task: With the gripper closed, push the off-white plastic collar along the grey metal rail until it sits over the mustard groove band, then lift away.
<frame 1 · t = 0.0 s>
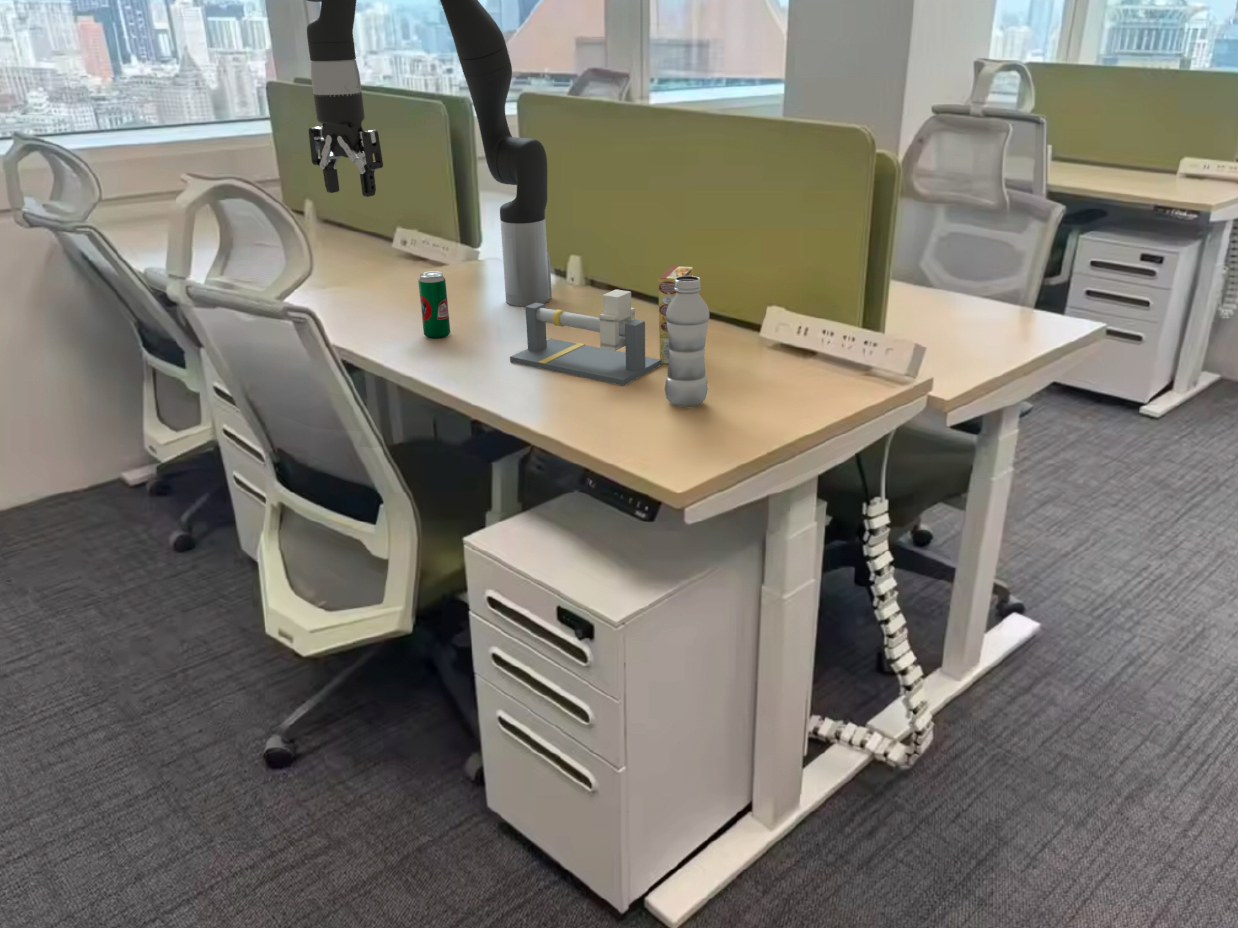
hand: (350, 194, 167), 29 cm above the table, tool pointing down, fingers open, 8 cm apart
collar: (617, 319, 168), point 9 cm above the table, slide at 0.0 cm
rail stand: (585, 363, 176), on the table
soda can: (437, 336, 192), on the table
candy box: (676, 358, 178), on the table
plastic bottle: (686, 405, 157), on the table
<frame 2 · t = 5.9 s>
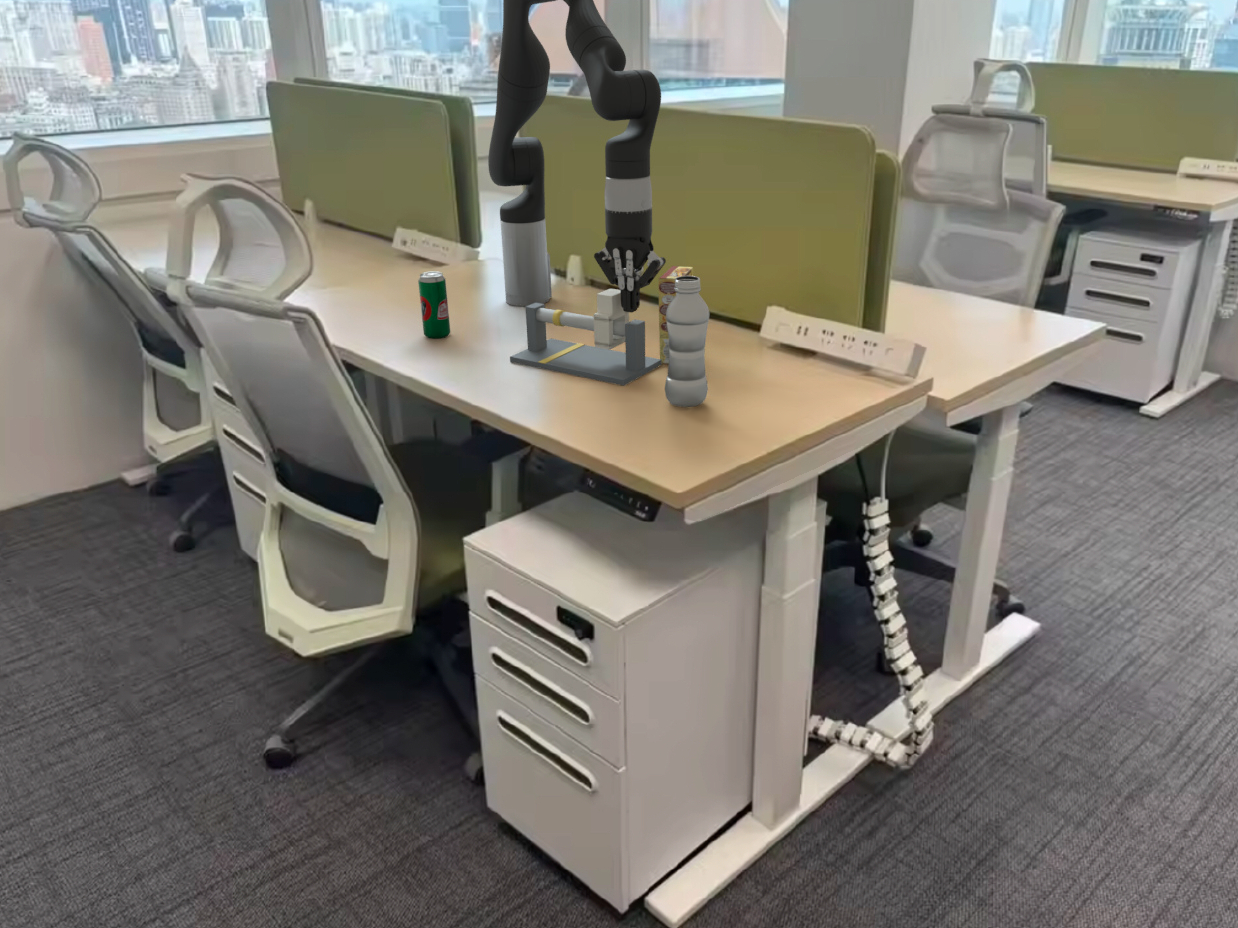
hand: (630, 310, 166), 11 cm above the table, tool pointing down, fingers closed
collar: (611, 318, 169), point 9 cm above the table, slide at 1.2 cm, touching gripper
everything else where it was.
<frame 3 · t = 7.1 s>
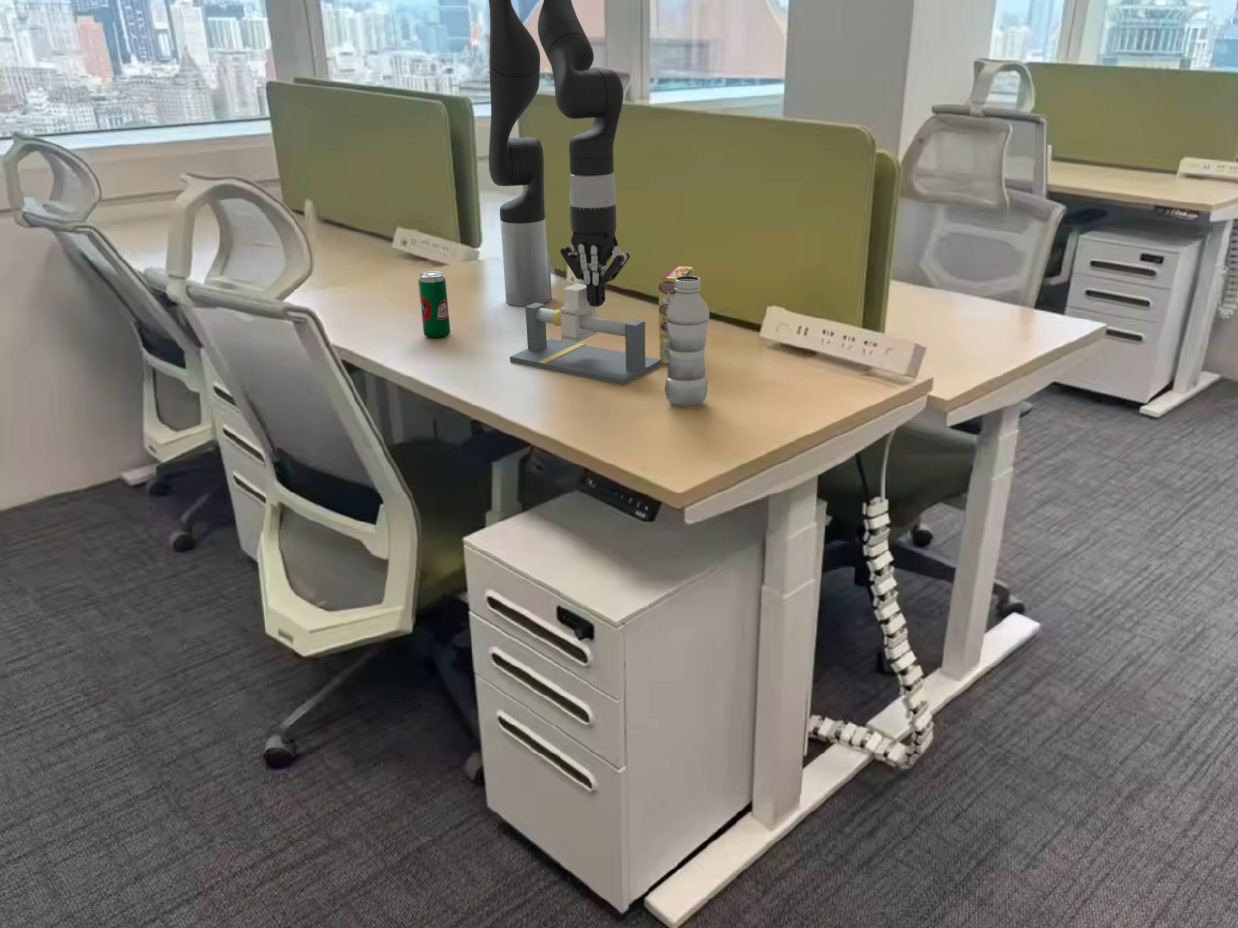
hand: (596, 305, 170), 11 cm above the table, tool pointing down, fingers closed
collar: (578, 312, 172), point 9 cm above the table, slide at 8.1 cm, touching gripper
everything else where it was.
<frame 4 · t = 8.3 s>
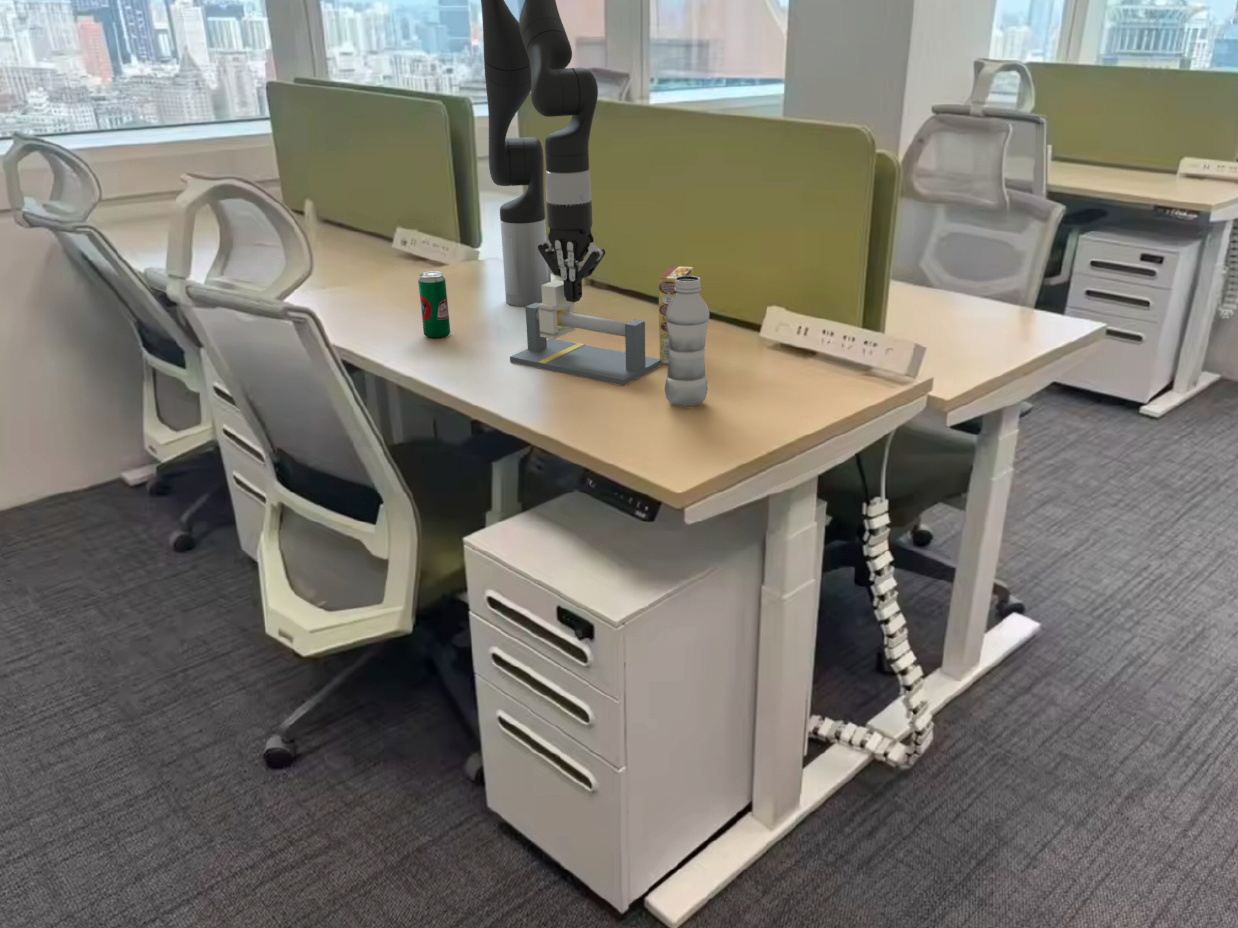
hand: (573, 300, 172), 11 cm above the table, tool pointing down, fingers closed
collar: (556, 308, 175), point 9 cm above the table, slide at 12.8 cm, touching gripper
everything else where it was.
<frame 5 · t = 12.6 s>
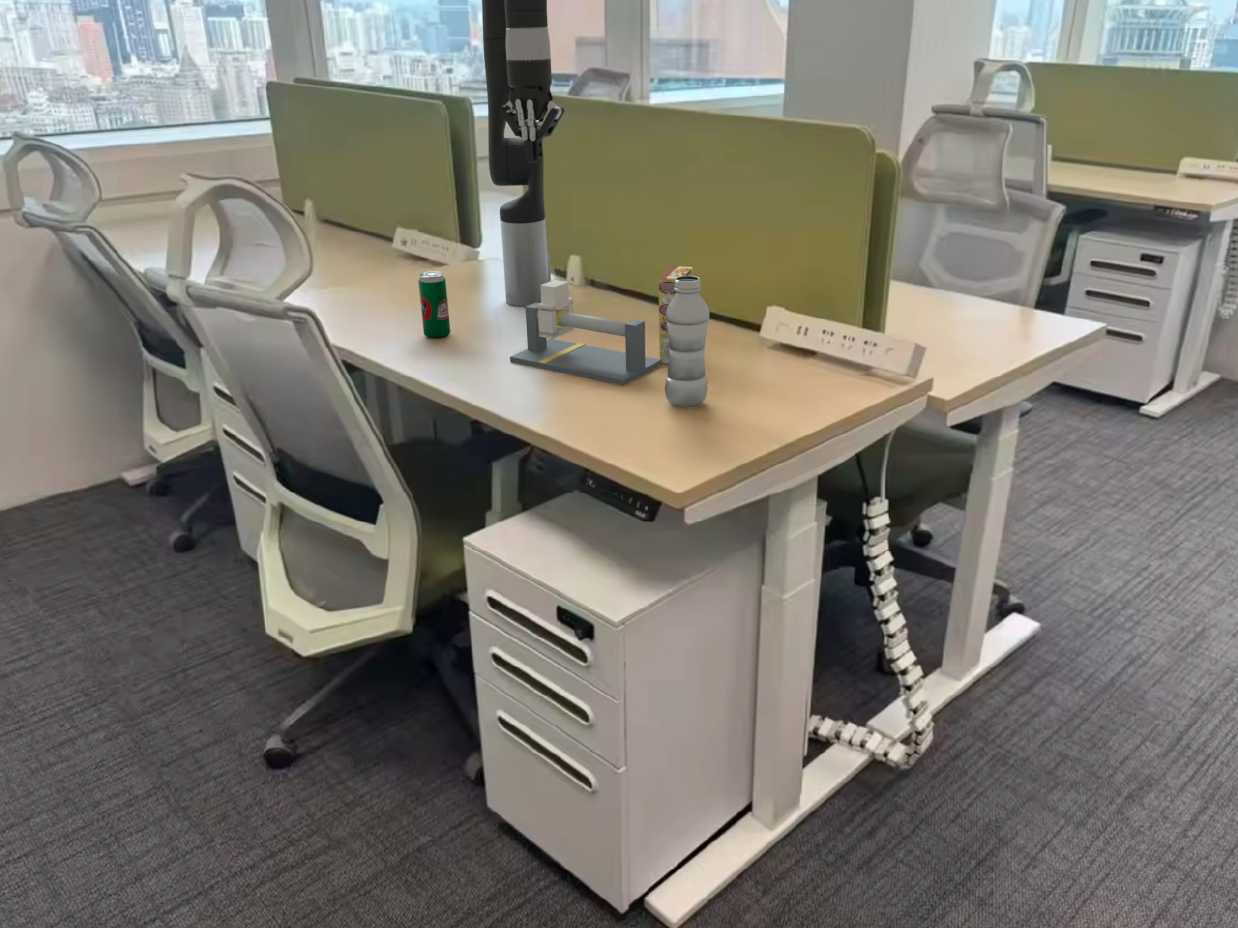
hand: (534, 162, 177), 32 cm above the table, tool pointing down, fingers closed
collar: (555, 308, 175), point 9 cm above the table, slide at 13.0 cm
everything else where it was.
at the end: collar slide at 13.0 cm; collar touching nothing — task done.
